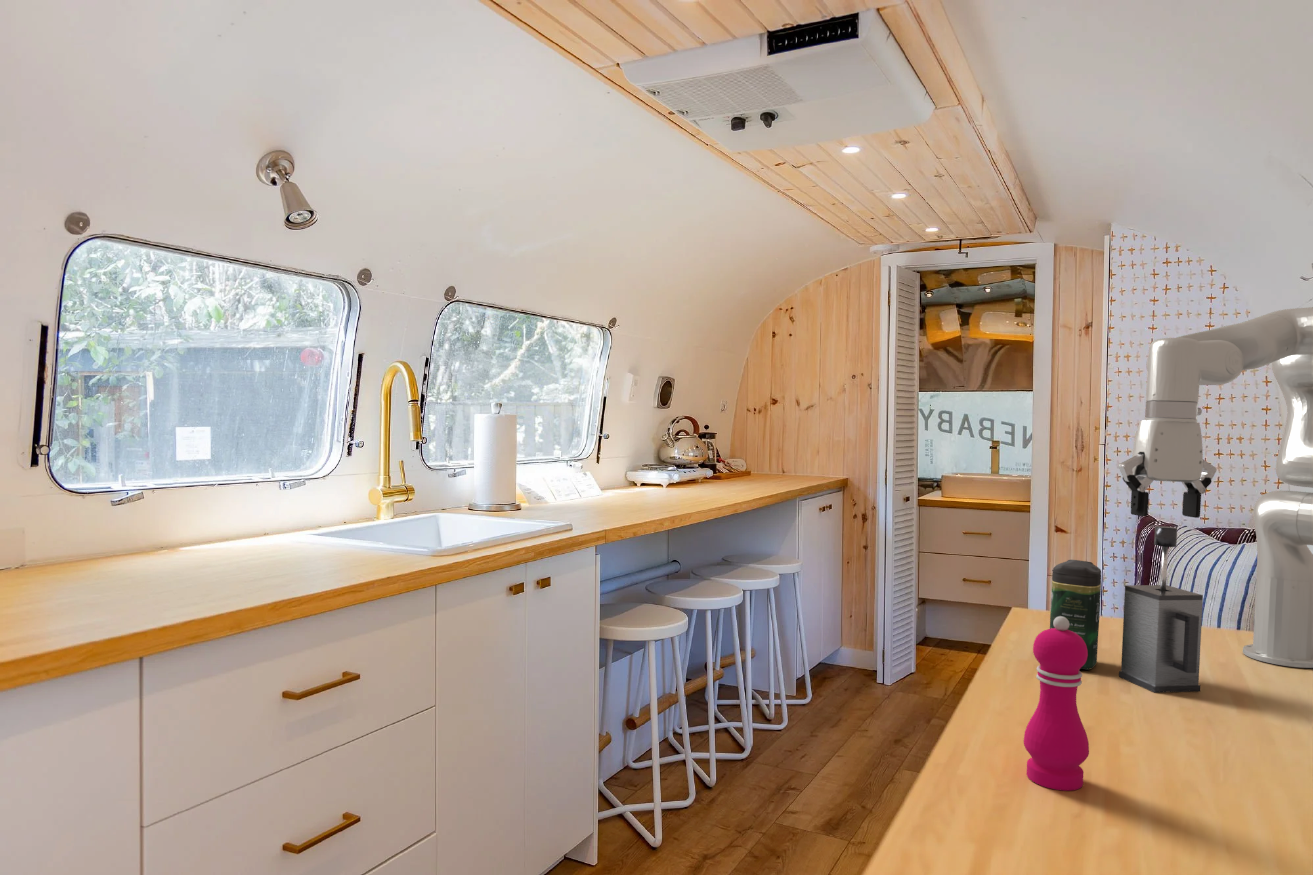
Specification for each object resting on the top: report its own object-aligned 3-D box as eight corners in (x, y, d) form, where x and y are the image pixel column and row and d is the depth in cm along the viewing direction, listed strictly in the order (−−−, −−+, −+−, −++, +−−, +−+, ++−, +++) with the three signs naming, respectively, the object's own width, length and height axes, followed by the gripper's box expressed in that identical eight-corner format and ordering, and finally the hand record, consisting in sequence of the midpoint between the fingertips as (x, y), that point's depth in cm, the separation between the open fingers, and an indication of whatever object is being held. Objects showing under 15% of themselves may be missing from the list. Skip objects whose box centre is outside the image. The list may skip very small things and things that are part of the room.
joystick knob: (1164, 604, 150) (1168, 525, 149) (1189, 612, 144) (1193, 529, 144) (1135, 604, 149) (1139, 525, 148) (1159, 612, 143) (1163, 529, 143)
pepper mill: (1032, 762, 112) (1039, 606, 111) (1094, 779, 107) (1101, 616, 106) (1014, 780, 106) (1021, 616, 105) (1078, 798, 101) (1086, 627, 101)
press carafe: (1162, 675, 152) (1166, 584, 151) (1213, 696, 141) (1218, 599, 140) (1118, 676, 150) (1123, 585, 150) (1167, 698, 139) (1171, 599, 139)
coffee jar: (1094, 674, 151) (1098, 567, 151) (1044, 666, 156) (1048, 562, 155) (1100, 661, 160) (1104, 560, 159) (1052, 654, 164) (1057, 555, 163)
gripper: (1199, 415, 151) (1193, 514, 151) (1108, 410, 148) (1103, 512, 148) (1235, 415, 143) (1229, 520, 144) (1140, 411, 140) (1134, 517, 141)
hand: (1165, 516), depth 146 cm, fingers open, 9 cm apart
